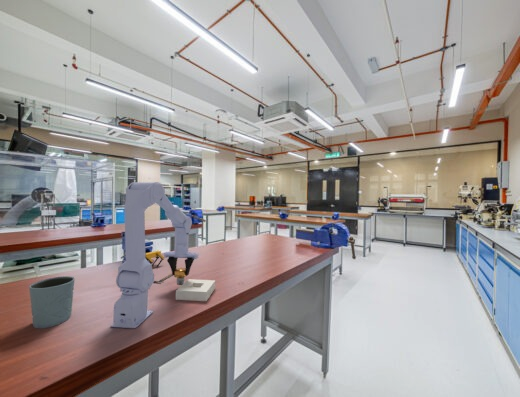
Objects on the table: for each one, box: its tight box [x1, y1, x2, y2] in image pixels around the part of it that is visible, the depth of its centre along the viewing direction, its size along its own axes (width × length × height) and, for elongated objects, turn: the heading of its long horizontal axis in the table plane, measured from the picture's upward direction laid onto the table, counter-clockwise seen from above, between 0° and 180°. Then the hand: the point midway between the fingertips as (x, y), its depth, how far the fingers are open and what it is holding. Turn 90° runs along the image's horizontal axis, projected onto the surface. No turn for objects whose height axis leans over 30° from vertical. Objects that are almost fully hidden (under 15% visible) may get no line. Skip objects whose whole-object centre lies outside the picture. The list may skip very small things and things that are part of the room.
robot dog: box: [145, 250, 165, 268], centre depth 119 cm, size 6×18×13 cm, turn 154°
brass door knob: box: [173, 267, 187, 286], centre depth 94 cm, size 5×5×6 cm
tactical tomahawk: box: [153, 273, 174, 285], centre depth 108 cm, size 21×7×1 cm, turn 166°
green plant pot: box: [28, 275, 76, 329], centre depth 67 cm, size 10×10×12 cm
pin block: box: [175, 278, 216, 302], centre depth 89 cm, size 12×12×4 cm
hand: (180, 274), depth 94 cm, fingers closed on brass door knob, 5 cm apart
